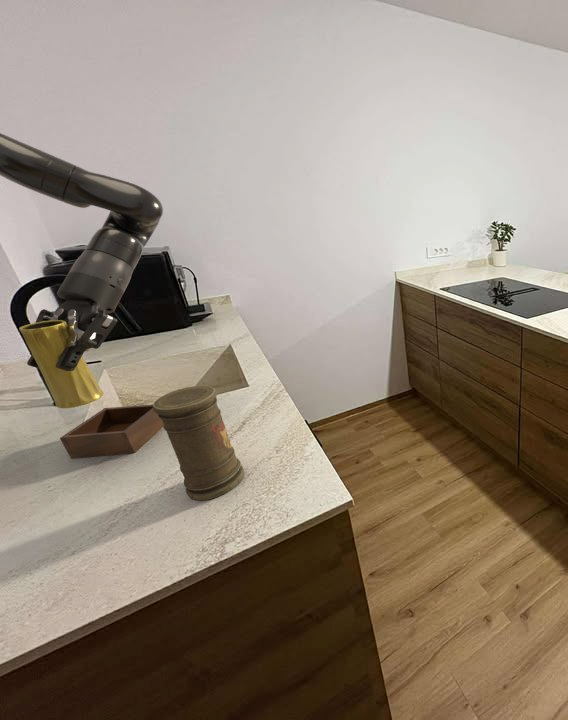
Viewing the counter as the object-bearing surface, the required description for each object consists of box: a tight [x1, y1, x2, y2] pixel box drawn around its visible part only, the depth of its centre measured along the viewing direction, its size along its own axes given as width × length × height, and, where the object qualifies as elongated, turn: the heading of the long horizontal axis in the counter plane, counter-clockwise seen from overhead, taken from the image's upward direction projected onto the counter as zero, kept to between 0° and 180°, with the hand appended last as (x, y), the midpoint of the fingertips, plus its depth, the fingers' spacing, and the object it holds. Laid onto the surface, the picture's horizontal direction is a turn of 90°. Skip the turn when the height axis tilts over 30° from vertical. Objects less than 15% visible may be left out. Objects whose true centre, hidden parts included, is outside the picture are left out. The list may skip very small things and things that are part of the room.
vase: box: [19, 320, 104, 409], centre depth 64 cm, size 6×6×14 cm
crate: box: [59, 403, 164, 459], centre depth 80 cm, size 12×12×5 cm
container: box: [152, 385, 245, 501], centre depth 65 cm, size 9×9×18 cm
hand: (49, 368), depth 63 cm, fingers closed on vase, 5 cm apart
